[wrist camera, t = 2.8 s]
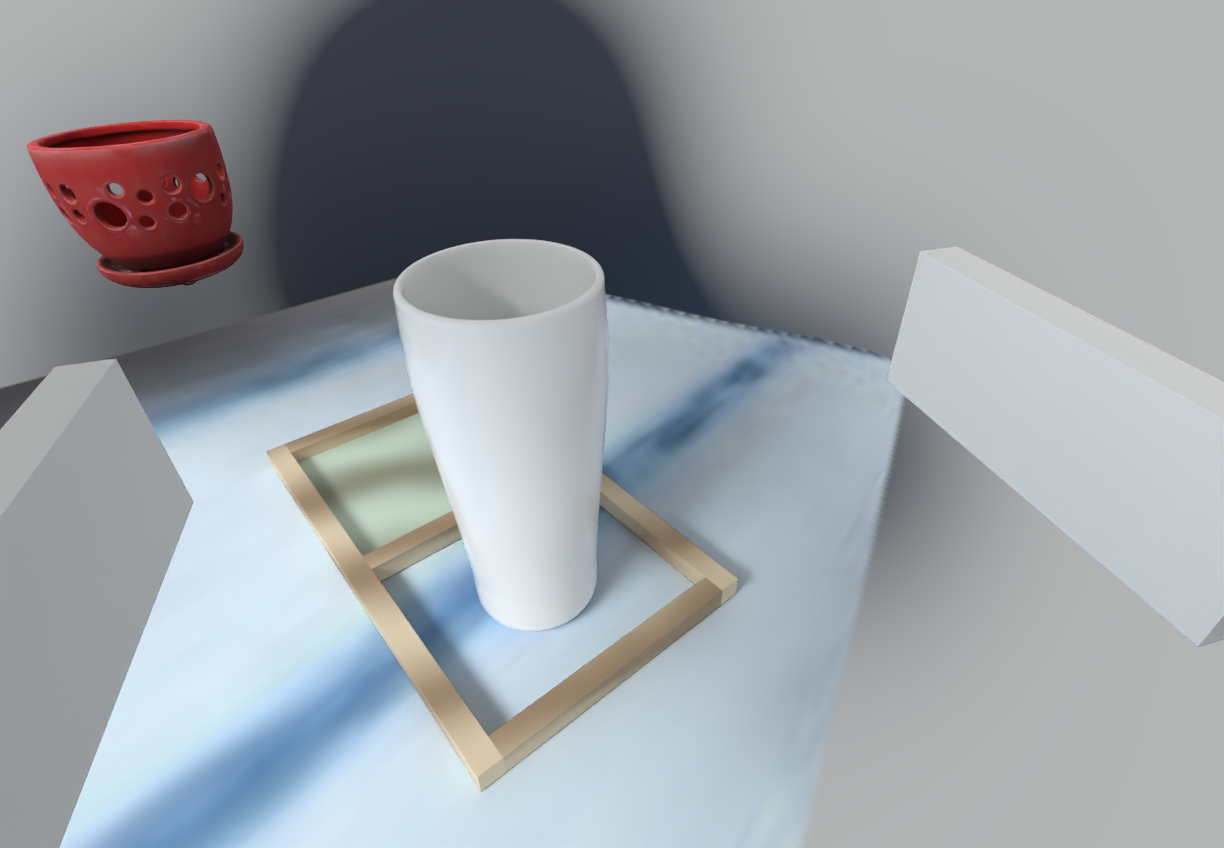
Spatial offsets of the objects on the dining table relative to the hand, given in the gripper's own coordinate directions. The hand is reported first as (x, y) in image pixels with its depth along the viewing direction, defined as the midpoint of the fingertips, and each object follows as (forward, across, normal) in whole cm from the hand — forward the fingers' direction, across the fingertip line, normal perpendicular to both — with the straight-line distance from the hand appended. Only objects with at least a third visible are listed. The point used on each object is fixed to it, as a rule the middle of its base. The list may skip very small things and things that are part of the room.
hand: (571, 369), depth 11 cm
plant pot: (+56, -26, -17) cm, 64 cm away
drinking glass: (+10, 0, -18) cm, 20 cm away
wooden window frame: (+15, -3, -17) cm, 23 cm away
